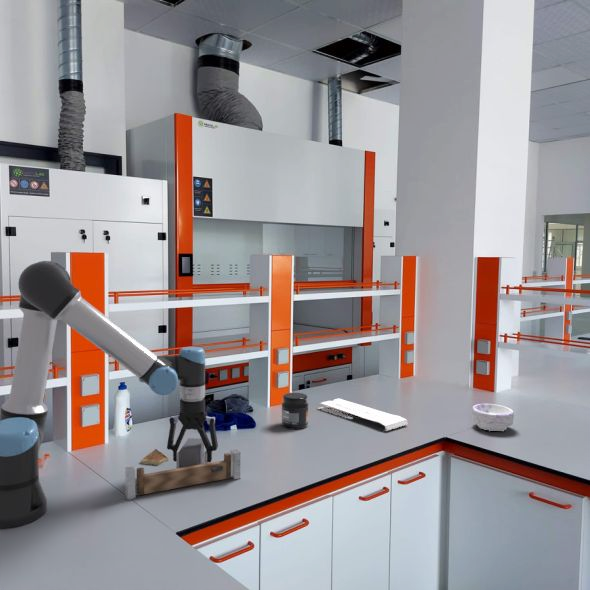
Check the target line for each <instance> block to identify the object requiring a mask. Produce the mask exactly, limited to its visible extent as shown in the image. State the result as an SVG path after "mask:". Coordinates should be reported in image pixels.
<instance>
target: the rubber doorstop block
mask: <svg viewBox="0 0 590 590" xmlns="http://www.w3.org/2000/svg"><path fill="white" fill-rule="evenodd" d="M180 449H181V450H180V468H183V467H189V466H194V465H200V464H204V453H205V446H204V443H203V441H202V439H201V438H193V437H192V438H190V437H189V438H187V440H186V441H185V442H184V444H183V445H182V447H181V448H180Z"/></svg>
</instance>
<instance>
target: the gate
mask: <svg viewBox="0 0 590 590" xmlns="http://www.w3.org/2000/svg"><path fill="white" fill-rule="evenodd" d="M230 453H231V452H227V453H223V455H224V456H223V460H218V461H211V462H209V463H206V464H200V465H194V466H189V467H183V468H177V467H176V468H171V469H166V470H160V471H154V472H149V473H145V468H144V467H137V468H136V495H137V496H143V495H147V494H152V493H157V492H164V491H168V490H174V489H179V488H185V487H188V486H194V485H199V484H204V483H210V482H211V483H212V482H215V481H220V480H226V479H231V478H232V477H231V454H230Z"/></svg>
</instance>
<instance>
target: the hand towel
mask: <svg viewBox="0 0 590 590" xmlns="http://www.w3.org/2000/svg"><path fill="white" fill-rule="evenodd" d="M319 404H320V405H324V406H325V407H324V406H321V407H317V409H318V410H320V409H321V410H320V411H323V412H326V413H328V412H329V414H331V413H332V415H335V416H337V415H339V416H338V417H340V416H342V417H341V418H343V417H345V416H346V417H348V414H349V413H350V414H353V415H355V416H358V417H357V418H359V417H360V418H361V419H365V420H368V421H372V422H373V423H379V424H380V425H382V426H384V431H386V432H389V431H392V429H393V430H396V429H399V427H400V428H402V426H403V427H406V426H408V425H409V423H408V419H406V418H405V417H403V416H400V415H397V414H391V413H388V412H385V411H382V410H379V409H375V408H372V407H368V406H366V405H363V404H360V403H359V404H358V403H356V402H352V401H349V400H345V399H343V398H339V397H338V398H335V399H333V400H327V401H322V402H319ZM328 408H329V409H328ZM330 408H331V409H330ZM332 409H334V410H332ZM335 410H336V411H335ZM337 411H340V412H337ZM342 412H343V413H344V414H343V413H342ZM345 413H346V414H347V415H346V414H345ZM355 416H354V417H355Z"/></svg>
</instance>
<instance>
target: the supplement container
mask: <svg viewBox="0 0 590 590" xmlns="http://www.w3.org/2000/svg"><path fill="white" fill-rule="evenodd" d="M281 425H282V427H284V428H285V427H286V428H285V429H288V428H290V429H289V430H301V428H302V429H305V428H306V427H308V425H309V402H308V395H307V394H306V393H302V392H288V393H284V394H283V395H282V402H281Z"/></svg>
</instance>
